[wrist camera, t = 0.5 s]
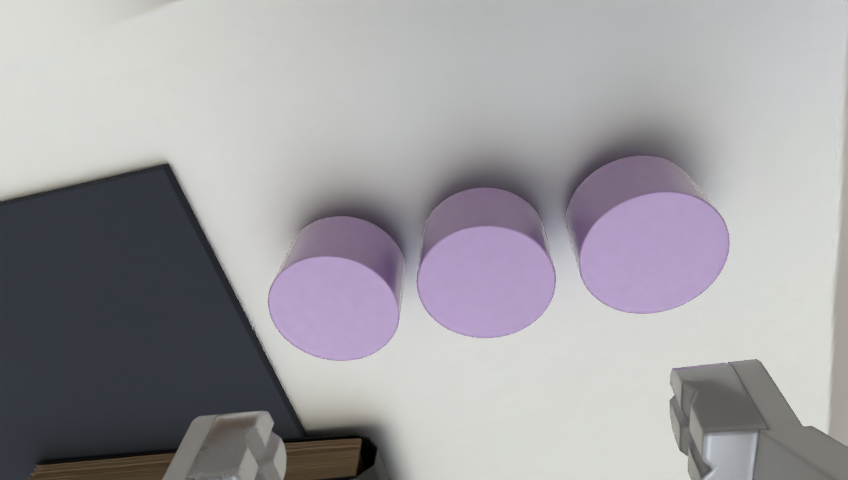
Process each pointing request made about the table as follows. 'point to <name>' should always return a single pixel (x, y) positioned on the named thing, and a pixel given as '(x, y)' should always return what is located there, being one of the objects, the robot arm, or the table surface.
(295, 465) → the file folder
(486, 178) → the table surface
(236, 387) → the mat
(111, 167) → the table surface
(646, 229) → the lavender round puck
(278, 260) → the table surface
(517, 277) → the lilac cylinder puck
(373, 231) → the purple short cylinder
